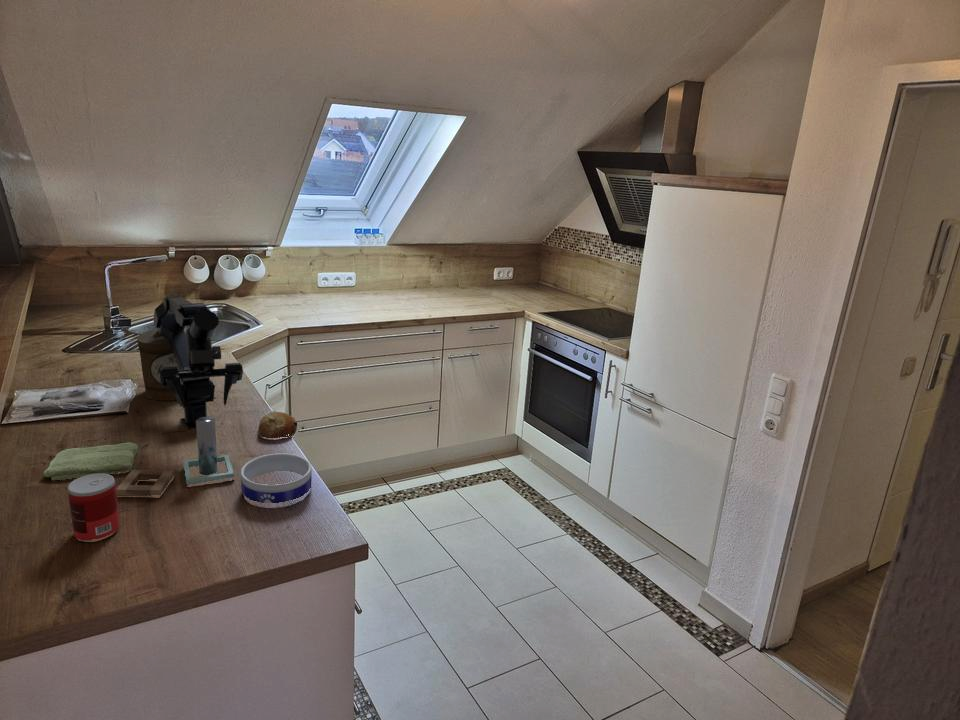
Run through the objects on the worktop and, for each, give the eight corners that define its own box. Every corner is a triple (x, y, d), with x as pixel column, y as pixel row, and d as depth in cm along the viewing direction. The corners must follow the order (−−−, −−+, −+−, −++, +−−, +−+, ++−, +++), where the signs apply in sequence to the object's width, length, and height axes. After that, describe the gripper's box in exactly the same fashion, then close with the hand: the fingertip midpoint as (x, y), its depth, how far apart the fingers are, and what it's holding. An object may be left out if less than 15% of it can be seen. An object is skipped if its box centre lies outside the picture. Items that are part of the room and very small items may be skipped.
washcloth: (56, 457, 154) (55, 445, 153) (139, 451, 160) (138, 439, 159) (42, 484, 142) (40, 471, 141) (132, 476, 148) (131, 464, 147)
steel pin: (195, 472, 150) (192, 421, 146) (208, 465, 153) (205, 415, 149) (208, 476, 148) (205, 424, 144) (221, 469, 152) (218, 419, 148)
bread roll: (264, 438, 179) (250, 415, 176) (298, 421, 181) (285, 398, 178) (266, 454, 170) (252, 430, 167) (302, 436, 172) (288, 412, 169)
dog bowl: (239, 512, 137) (238, 487, 135) (243, 477, 151) (242, 454, 149) (313, 506, 142) (313, 482, 140) (310, 473, 155) (310, 450, 154)
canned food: (127, 522, 130) (122, 473, 127) (106, 545, 123) (100, 494, 119) (88, 520, 130) (82, 471, 127) (65, 543, 122) (58, 492, 119)
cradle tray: (183, 468, 153) (183, 460, 152) (228, 461, 157) (228, 454, 157) (186, 488, 144) (186, 480, 144) (234, 481, 149) (233, 473, 148)
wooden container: (162, 405, 186) (151, 333, 178) (136, 392, 194) (124, 322, 186) (209, 389, 197) (200, 321, 189) (182, 377, 205) (173, 311, 197)
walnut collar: (133, 477, 147) (132, 469, 146) (174, 478, 148) (174, 470, 147) (116, 497, 138) (115, 489, 138) (160, 498, 140) (159, 490, 139)
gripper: (157, 336, 151) (161, 397, 146) (241, 332, 159) (247, 391, 154) (159, 355, 160) (162, 414, 155) (238, 351, 169) (244, 407, 163)
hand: (204, 406), depth 157 cm, fingers open, 9 cm apart
